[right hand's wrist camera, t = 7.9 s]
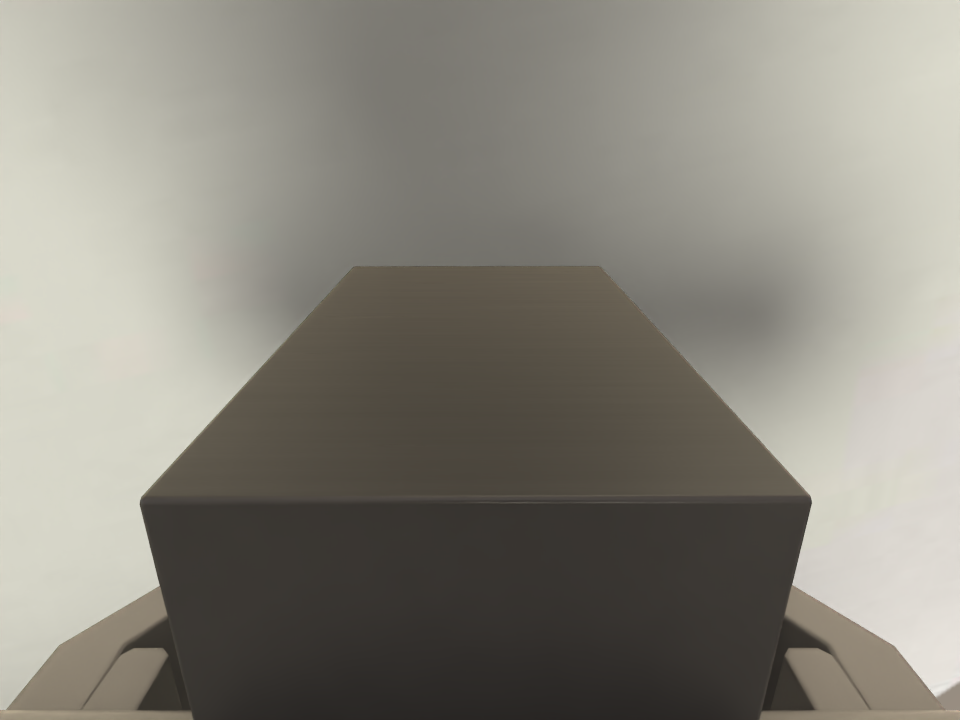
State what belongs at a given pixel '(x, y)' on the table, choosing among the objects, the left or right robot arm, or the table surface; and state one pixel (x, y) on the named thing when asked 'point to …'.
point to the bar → (476, 516)
